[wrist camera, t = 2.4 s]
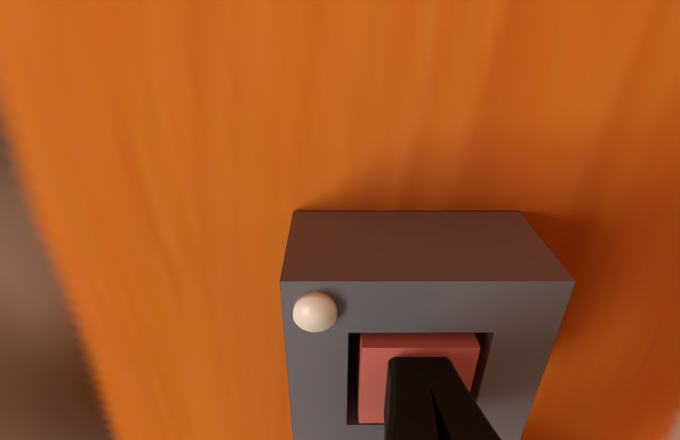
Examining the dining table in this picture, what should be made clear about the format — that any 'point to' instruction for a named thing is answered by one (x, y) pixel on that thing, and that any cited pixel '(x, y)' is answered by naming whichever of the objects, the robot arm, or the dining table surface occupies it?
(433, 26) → the dining table surface
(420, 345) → the button
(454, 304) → the block
